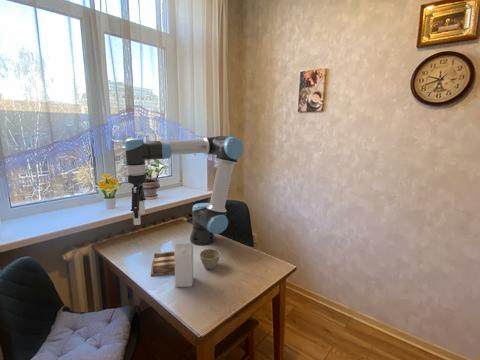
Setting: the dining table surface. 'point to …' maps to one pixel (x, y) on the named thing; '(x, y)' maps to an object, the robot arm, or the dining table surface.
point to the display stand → (163, 264)
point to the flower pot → (210, 258)
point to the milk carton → (183, 264)
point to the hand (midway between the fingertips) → (139, 218)
